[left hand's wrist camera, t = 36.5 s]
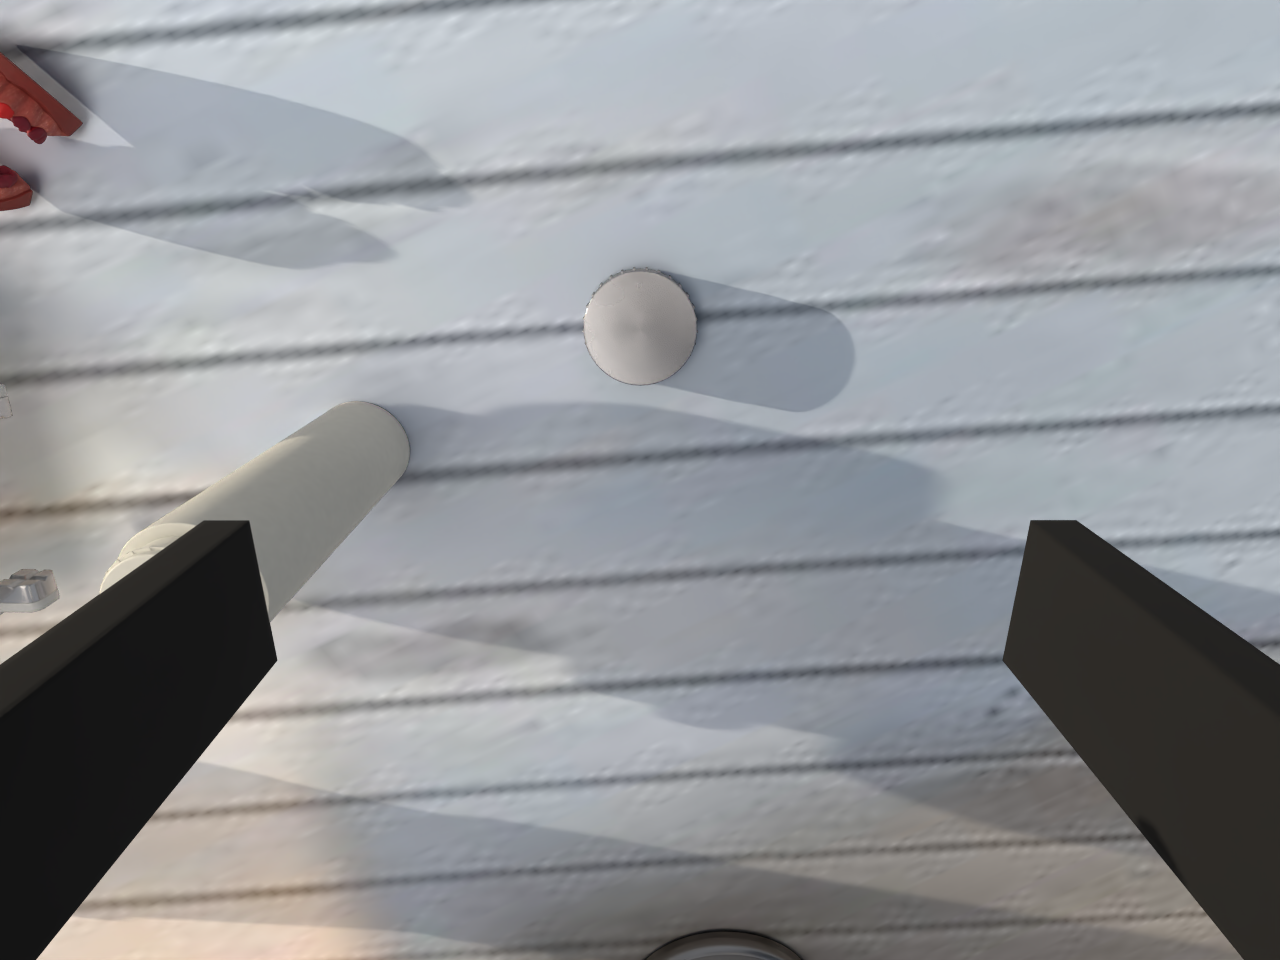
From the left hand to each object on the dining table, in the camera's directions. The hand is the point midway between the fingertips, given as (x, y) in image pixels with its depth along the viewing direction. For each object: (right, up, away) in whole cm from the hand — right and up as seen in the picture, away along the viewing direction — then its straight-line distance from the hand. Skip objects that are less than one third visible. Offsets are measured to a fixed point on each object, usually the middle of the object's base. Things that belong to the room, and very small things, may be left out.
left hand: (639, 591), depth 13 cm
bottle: (-16, +4, +30) cm, 35 cm away
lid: (0, +10, +26) cm, 28 cm away
